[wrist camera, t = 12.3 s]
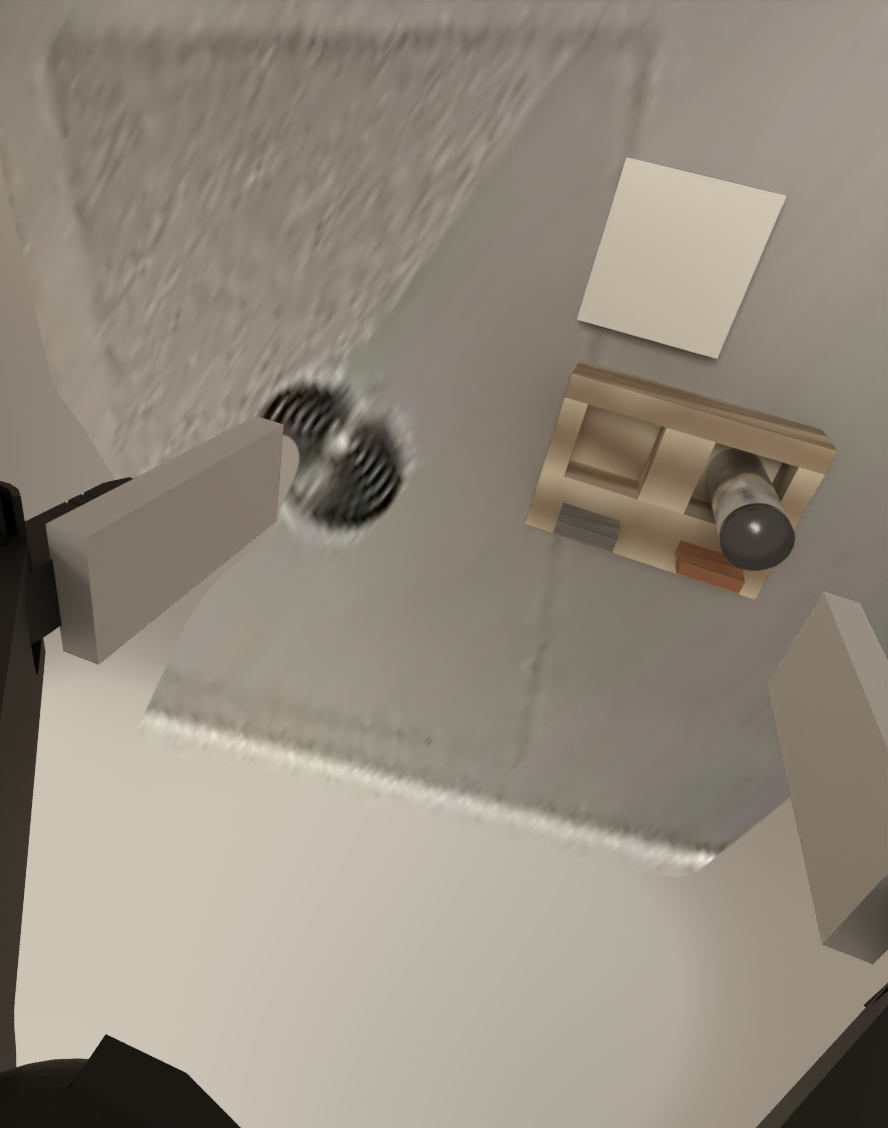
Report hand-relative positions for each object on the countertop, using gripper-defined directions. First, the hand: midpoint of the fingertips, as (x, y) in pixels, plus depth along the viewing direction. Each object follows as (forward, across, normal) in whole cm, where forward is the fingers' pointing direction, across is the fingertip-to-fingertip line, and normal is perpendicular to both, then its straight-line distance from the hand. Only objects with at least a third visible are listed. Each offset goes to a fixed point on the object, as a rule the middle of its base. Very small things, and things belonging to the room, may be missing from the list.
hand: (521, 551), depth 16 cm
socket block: (+38, +7, -10) cm, 40 cm away
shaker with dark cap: (+37, +12, -8) cm, 39 cm away
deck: (+38, +2, +5) cm, 38 cm away
